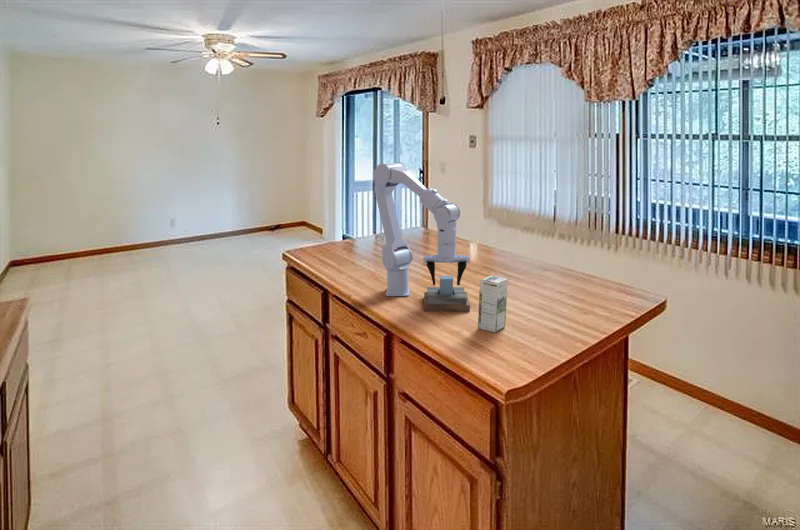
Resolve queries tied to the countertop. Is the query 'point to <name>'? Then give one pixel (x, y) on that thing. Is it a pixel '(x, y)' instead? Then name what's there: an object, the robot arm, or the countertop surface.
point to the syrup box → (492, 303)
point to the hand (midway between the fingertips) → (446, 284)
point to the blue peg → (446, 285)
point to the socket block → (446, 300)
